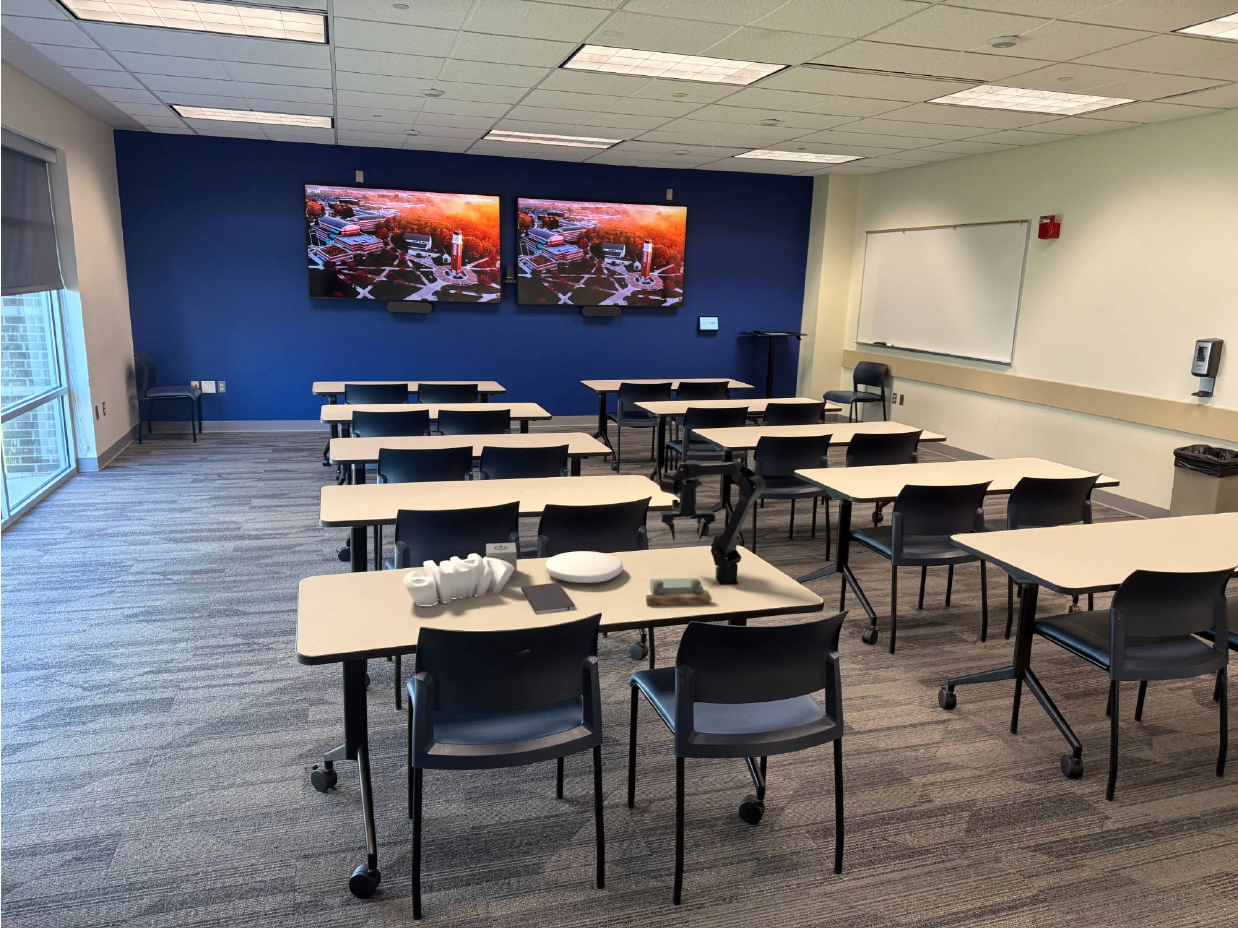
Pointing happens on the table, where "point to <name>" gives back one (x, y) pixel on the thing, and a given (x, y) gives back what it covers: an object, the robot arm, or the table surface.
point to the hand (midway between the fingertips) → (686, 540)
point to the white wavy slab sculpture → (457, 579)
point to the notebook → (547, 598)
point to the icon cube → (504, 555)
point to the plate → (583, 567)
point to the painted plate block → (675, 585)
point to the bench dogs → (677, 596)
